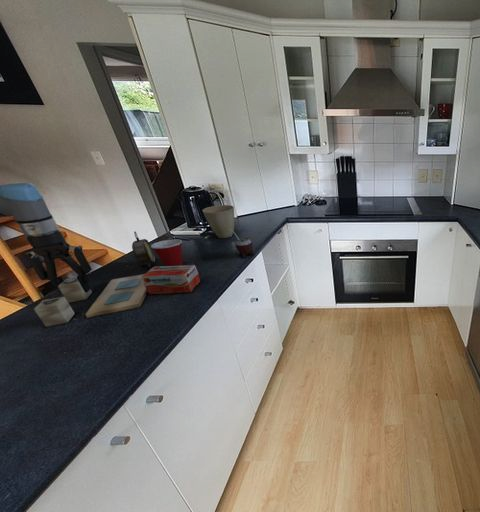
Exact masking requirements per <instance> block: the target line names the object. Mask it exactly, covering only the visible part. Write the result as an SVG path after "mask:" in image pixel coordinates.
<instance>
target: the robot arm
mask: <svg viewBox="0 0 480 512" xmlns="http://www.w3.org/2000/svg"><path fill="white" fill-rule="evenodd" d="M0 217H1V218H6V217H12V218H13V219H14V220H15V223H17V225H18V227H19V228H20V230H21V232H22V233H23V235H25V238H26V240H27V242H28V243H29V246H30V247H32V250H31V251H28V252H25V253H24V254H23V255H22V257H23V258H24V259H25V260H26V261H28V262H29V264H30V265H31V267H32V268H33V270H34V272H35V274H36V275H37V276H38V278H39V280H41V281H50V282H51V284H52V286H53V288H55V289H59V287H58V286H59V285H60V284H61V283H62V282H63V281H64V279H63V277H62V276H59V274H58V273H57V267H56V262H55V260H56V259H57V260H60V261H62V262H64V263H65V264H66V265H67V266H68V267H69V268H71V270H72V271H74V273H75V274H77V276H76V277H75V278H77V279H78V281H79V283H80V284H81V286H82V288H83V290H84V291H85V293H86V292H88V291H89V290H90V289H91V290H92V288H91V286H90V284H89V282H90V278H89V276H88V274H89V273H90V272H91V271H92V266H91V265H90V263H89V262H88V260H87V258H86V256H85V254H84V253H83V246H82V245H77V246H75V245H70V244H69V243H68V242H67V241H66V238H65V235H64V234H63V232H62V231H61V230H60V227H59V226H58V224H57V221H56V220H55V218H54V217H53V214H52V213H51V212H50V210H49V208H48V206H47V204H46V202H45V200H44V197H43V195H42V194H41V193H40V191H39V190H38V188H37V186H35V185H34V184H33V183H29V182H18V183H6V184H1V185H0ZM70 251H71V253H73V254H74V255H73V256H74V257H75V259H76V260H77V261H76V260H75V259H74V258H73V256H72V254H71V253H70ZM38 256H39V257H42V258H43V262H42V261H41V259H40V258H39V257H38ZM43 263H44V264H43ZM44 265H45V266H44ZM59 292H60V293H61V294H62V292H61V290H60V289H59ZM62 297H64V295H63V294H62Z"/></svg>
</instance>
